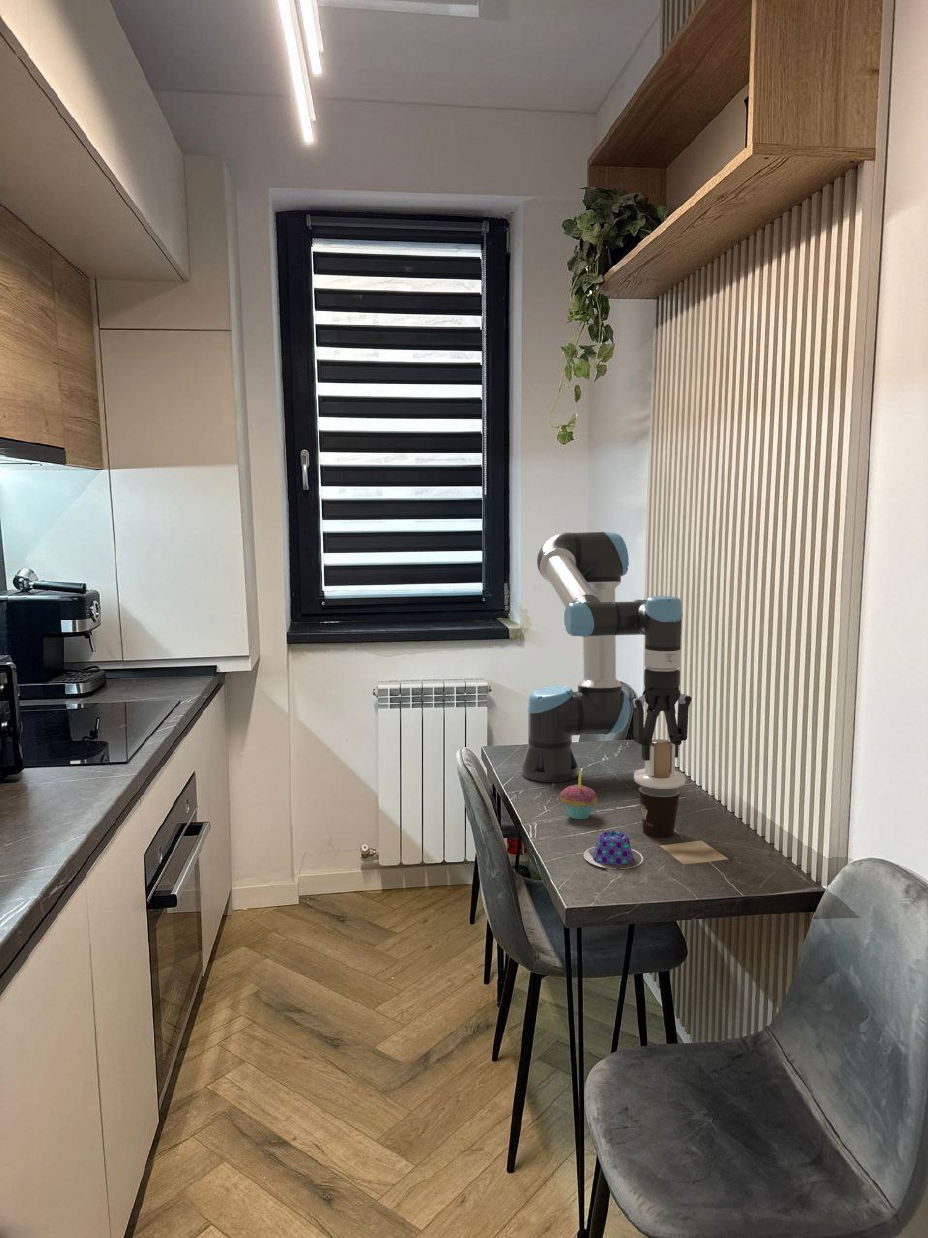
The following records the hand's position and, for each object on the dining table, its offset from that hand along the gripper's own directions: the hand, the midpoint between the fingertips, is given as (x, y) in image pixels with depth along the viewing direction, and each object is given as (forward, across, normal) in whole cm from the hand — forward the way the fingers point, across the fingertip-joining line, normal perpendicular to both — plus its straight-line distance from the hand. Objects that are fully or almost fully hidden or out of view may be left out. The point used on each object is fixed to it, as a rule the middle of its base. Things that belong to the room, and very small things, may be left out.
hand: (659, 773), depth 184 cm
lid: (+2, 0, 0) cm, 2 cm away
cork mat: (+13, +1, -13) cm, 19 cm away
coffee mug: (+14, 0, 0) cm, 14 cm away
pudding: (+14, -16, -10) cm, 24 cm away
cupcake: (+14, -13, +14) cm, 23 cm away
